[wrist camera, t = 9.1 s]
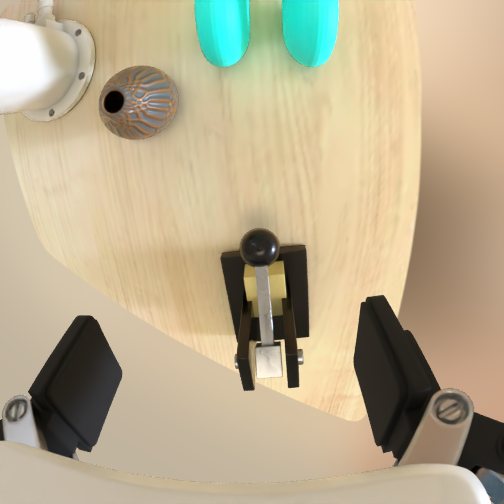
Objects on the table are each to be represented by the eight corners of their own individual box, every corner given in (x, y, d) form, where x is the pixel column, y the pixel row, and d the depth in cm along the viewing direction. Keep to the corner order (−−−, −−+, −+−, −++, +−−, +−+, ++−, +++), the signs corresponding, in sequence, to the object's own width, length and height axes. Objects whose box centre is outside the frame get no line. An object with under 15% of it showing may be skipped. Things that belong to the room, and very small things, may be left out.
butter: (245, 264, 32) (243, 277, 30) (283, 260, 32) (284, 273, 30) (251, 302, 35) (249, 317, 32) (286, 299, 34) (287, 314, 32)
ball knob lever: (240, 234, 30) (235, 226, 26) (278, 230, 29) (277, 222, 26) (252, 370, 28) (248, 380, 24) (289, 367, 28) (290, 378, 24)
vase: (152, 149, 29) (113, 164, 21) (110, 107, 27) (62, 109, 19) (200, 100, 26) (174, 96, 19) (154, 57, 24) (116, 41, 17)
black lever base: (221, 252, 33) (201, 323, 22) (304, 244, 33) (323, 314, 22) (237, 336, 38) (229, 413, 27) (308, 330, 38) (320, 408, 27)
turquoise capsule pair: (213, -12, 21) (192, -57, 12) (315, -12, 21) (336, -57, 12) (214, 74, 25) (190, 57, 16) (319, 74, 25) (346, 57, 16)
